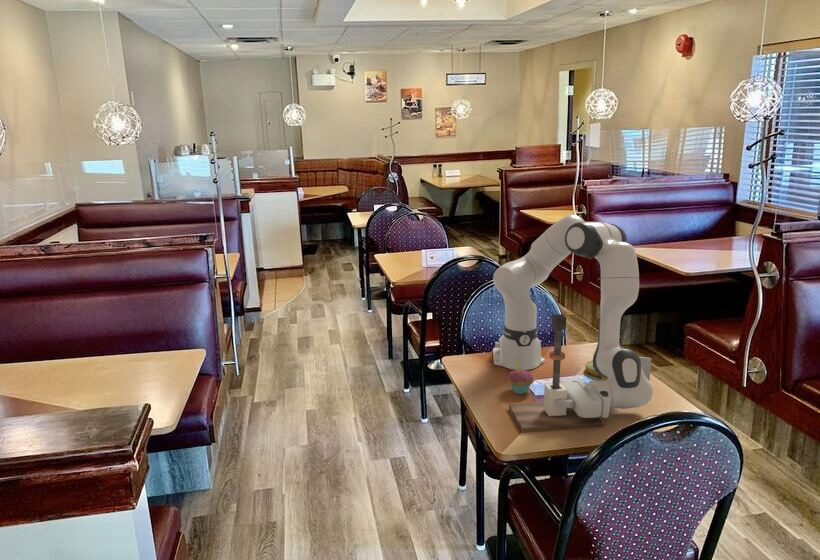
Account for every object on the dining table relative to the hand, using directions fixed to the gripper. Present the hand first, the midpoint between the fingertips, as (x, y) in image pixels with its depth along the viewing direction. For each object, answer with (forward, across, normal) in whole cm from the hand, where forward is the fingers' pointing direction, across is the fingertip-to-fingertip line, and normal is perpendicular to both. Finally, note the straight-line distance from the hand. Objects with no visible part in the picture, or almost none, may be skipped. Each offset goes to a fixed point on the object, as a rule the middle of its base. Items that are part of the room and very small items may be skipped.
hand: (552, 398), depth 188 cm
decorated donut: (-28, -31, +7) cm, 42 cm away
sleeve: (-1, 0, +5) cm, 5 cm away
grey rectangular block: (-36, -19, +7) cm, 41 cm away
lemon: (-25, -16, +7) cm, 30 cm away
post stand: (-1, 0, +6) cm, 7 cm away
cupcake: (+4, -20, +7) cm, 22 cm away
